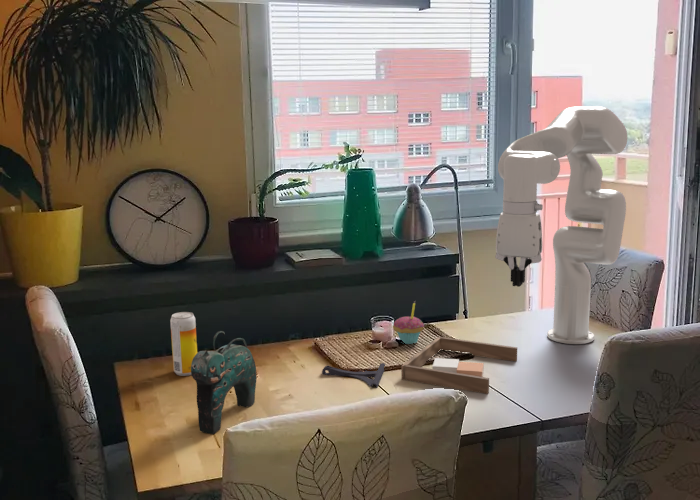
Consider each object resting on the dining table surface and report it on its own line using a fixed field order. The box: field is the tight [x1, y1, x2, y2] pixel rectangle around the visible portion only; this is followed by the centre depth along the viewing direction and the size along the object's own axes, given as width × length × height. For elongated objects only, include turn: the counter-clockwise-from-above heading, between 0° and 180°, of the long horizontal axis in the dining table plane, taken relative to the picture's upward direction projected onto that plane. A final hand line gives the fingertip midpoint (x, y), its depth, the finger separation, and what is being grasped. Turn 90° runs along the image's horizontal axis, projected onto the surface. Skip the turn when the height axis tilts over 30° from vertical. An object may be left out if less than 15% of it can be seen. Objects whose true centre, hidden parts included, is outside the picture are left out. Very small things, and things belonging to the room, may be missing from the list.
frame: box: [401, 336, 518, 395], centre depth 188 cm, size 25×22×4 cm
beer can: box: [169, 311, 198, 377], centre depth 188 cm, size 6×6×15 cm
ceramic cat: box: [190, 330, 258, 435], centre depth 160 cm, size 20×6×20 cm, turn 156°
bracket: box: [321, 362, 386, 389], centre depth 185 cm, size 14×15×3 cm
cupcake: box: [392, 300, 425, 345], centre depth 210 cm, size 9×8×12 cm
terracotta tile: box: [457, 361, 485, 377], centre depth 183 cm, size 6×6×3 cm
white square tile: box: [431, 357, 460, 373], centre depth 186 cm, size 6×6×3 cm
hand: (517, 285), depth 178 cm, fingers closed
